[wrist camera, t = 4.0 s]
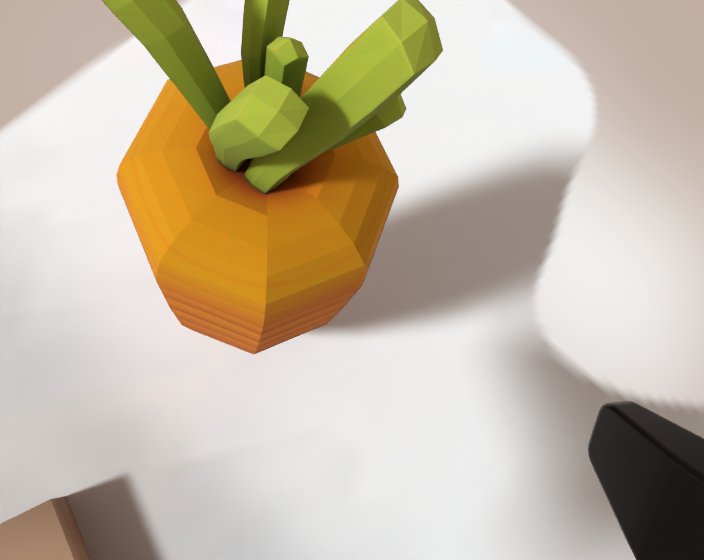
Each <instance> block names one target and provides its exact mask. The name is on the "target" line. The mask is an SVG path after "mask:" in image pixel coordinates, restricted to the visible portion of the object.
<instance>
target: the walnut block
mask: <svg viewBox="0 0 704 560" xmlns="http://www.w3.org/2000/svg"><path fill="white" fill-rule="evenodd" d="M0 560H90V558H89V556H88V553H87V551H86V548H85V546H84V543H83V540H82V538H81V535H80V533H79V530H78V528H77V525H76V523H75V520H74V518H73V515H72V513H71V510H70V507H69V505H68V502H67V500H66V497H60V498H55V499H50V500H48V501H46V502H44V503H42V504H40V505H38V506H36V507H34V508H32V509H30V510H28V511H26V512H24V513H22V514H20V515H18V516H16V517H14V518H12V519H10V520H8V521H5V522H3V523H1V524H0Z"/></svg>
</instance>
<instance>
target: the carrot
mask: <svg viewBox="0 0 704 560" xmlns="http://www.w3.org/2000/svg"><path fill="white" fill-rule="evenodd" d="M102 1H103V2H104V3H105V5H106V6H107V7H108V8H109V9H110V10H111V11H112V13H114V15H115V16H116V17H117V18H118V19H119V20H120V21H121V22H122V23H123V24H124V25H125V26H126V27H127V28H128V29H129V30H130V31H131V33H132V34H133V35H134V36H135V37H136V38H137V39H138V40H139V41H140V42H141V43H142V44H143V45H144V46H145V48H146V49H147V50H148V51H149V53H150V54H151V55H152V57H153V58H154V59H155V60H156V62H157V63H158V64H159V65H160V67H161V68H162V69H163V71H164V72H165V73H166V74H167V76H168V77H169V78H170V79H169V80H167V82H166V84H165V85H164V87H163V89H162V91H161V93H160V94H159V96H158V98H157V100H156V101H155V103H154V105H153V107H152V109H151V110H150V112H149V114H148V116H147V117H146V119H145V121H144V123H143V125H142V126H141V128H140V130H139V132H138V133H137V135H136V137H135V139H134V141H133V142H132V144H131V146H130V148H129V149H128V151H127V153H126V155H125V157H124V158H123V160H122V162H121V164H120V166H119V169H118V172H117V182H118V186H119V189H120V191H121V194H122V196H123V199H124V201H125V204H126V206H127V209H128V211H129V214H130V216H131V219H132V221H133V224H134V226H135V229H136V231H137V234H138V236H139V239H140V241H141V244H142V246H143V249H144V251H145V254H146V256H147V259H148V261H149V264H150V266H151V269H152V271H153V274H154V276H155V279H156V281H157V283H158V285H159V287H160V289H161V291H162V293H163V295H164V297H165V299H166V301H167V303H168V305H169V307H170V308H171V310H172V311H173V313H174V314H175V316H176V317H177V319H178V320H179V321H180V323H181V324H182V325H183V326H185V327H187V328H189V329H191V330H193V331H196V332H198V333H201V334H203V335H206V336H208V337H211V338H213V339H216V340H219V341H221V342H224V343H226V344H229V345H231V346H234V347H236V348H239V349H241V350H244V351H247V352H249V353H252V354H256V353H258V352H261V351H263V350H266V349H268V348H270V347H273V346H275V345H277V344H280V343H282V342H285V341H287V340H289V339H292V338H294V337H296V336H299V335H301V334H304V333H306V332H308V331H311V330H313V329H316V328H318V327H320V326H323V325H325V324H326V323H328V322H329V321H330V320H331V319H332V318H333V317H334V316H335V315H336V314H337V313H338V312H339V311H340V310H341V309H342V308H343V307H344V306H345V305H346V303H347V302H348V301H349V300H350V299H351V298H352V296H353V295H354V294H355V293H356V292H357V291H358V289H359V288H360V287H361V286H362V284H363V282H364V279H365V276H366V274H367V271H368V268H369V266H370V263H371V260H372V257H373V255H374V252H375V249H376V247H377V244H378V241H379V239H380V236H381V233H382V231H383V228H384V225H385V222H386V220H387V217H388V214H389V212H390V209H391V206H392V204H393V201H394V198H395V196H396V193H397V190H398V187H399V184H398V176H397V174H396V172H395V170H394V168H393V166H392V164H391V162H390V160H389V158H388V156H387V154H386V152H385V150H384V148H383V146H382V144H381V142H380V140H379V138H378V136H377V134H376V131H378V130H381V129H383V128H385V127H387V126H389V125H390V124H392V123H394V122H395V121H397V120H399V119H400V118H402V117H403V115H404V112H405V110H406V107H405V104H404V102H403V99H402V96H401V93H402V92H403V91H404V90H405V89H406V88H407V87H408V86H409V85H410V84H411V83H412V82H413V81H414V80H415V79H416V78H418V77H419V76H420V75H421V74H422V73H423V72H424V71H425V70H426V69H427V68H428V67H429V66H430V65H431V64H432V63H433V62H434V61H435V60H436V59H437V58H438V56H439V55H440V54H441V52H442V51H443V48H442V45H441V41H440V37H439V33H438V30H437V26H436V22H435V18H434V17H433V16H432V15H431V14H430V12H429V11H428V10H427V9H426V8H425V7H424V6H423V5H422V4H421V3H420V2H419V0H398V1H397V2H396V3H395V4H394V5H393V6H392V7H390V8H389V9H388V10H387V11H386V12H385V13H384V14H383V15H382V16H381V17H380V18H378V19H377V20H376V21H375V22H374V23H373V24H372V25H371V26H370V27H369V28H368V29H366V30H365V31H364V32H363V33H362V34H361V35H360V36H359V37H358V38H357V39H356V40H355V41H353V42H352V43H351V44H350V45H349V46H348V47H347V48H346V49H345V51H344V52H343V53H342V54H341V55H340V56H339V57H338V58H337V59H336V60H335V62H334V63H333V64H332V65H331V66H330V67H329V68H328V69H327V70H326V71H325V72H324V73H323V75H322V76H321V77H317V76H315V75H313V74H310V73H308V72H306V67H307V62H308V57H309V56H308V54H307V52H306V50H305V48H304V46H303V44H302V42H300V41H297V40H295V39H293V38H288V37H282V35H283V30H284V25H285V20H286V15H287V10H288V5H289V0H245V5H244V15H243V31H242V46H241V58H242V60H239V61H236V62H232V63H228V64H225V65H221V66H217V67H213V65H212V64H211V62H210V60H209V58H208V56H207V54H206V52H205V50H204V49H203V47H202V45H201V43H200V41H199V39H198V37H197V35H196V34H195V32H194V30H193V28H192V26H191V24H190V22H189V21H188V19H187V17H186V15H185V13H184V11H183V9H182V8H181V6H180V5H179V4H178V2H177V1H176V0H102Z"/></svg>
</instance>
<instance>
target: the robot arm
mask: <svg viewBox="0 0 704 560" xmlns="http://www.w3.org/2000/svg"><path fill="white" fill-rule="evenodd" d="M588 452H589V458H590V461H591V464H592V466H593V468H594V470H595V472H596V474H597V477H598V479H599V481H600V483H601V485H602V488H603V490H604V492H605V494H606V496H607V498H608V501H609V503H610V505H611V507H612V509H613V512H614V514H615V516H616V518H617V520H618V522H619V525H620V527H621V529H622V531H623V533H624V535H625V538H626V540H627V542H628V544H629V546H630V548H631V550H632V552H633V554H634V556H635V558H636V560H704V439H703V438H701V437H700V436H698V435H696V434H694V433H692V432H690V431H688V430H686V429H684V428H682V427H680V426H678V425H676V424H675V423H673V422H671V421H669V420H667V419H665V418H663V417H661V416H659V415H657V414H655V413H653V412H652V411H650V410H648V409H646V408H644V407H642V406H640V405H638V404H636V403H634V402H631V401H622V402H613V403H607V404H604V405H603V406H602V407H601V408H600V410H599V413H598V416H597V419H596V422H595V425H594V429H593V432H592V435H591V438H590V441H589V445H588Z"/></svg>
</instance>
